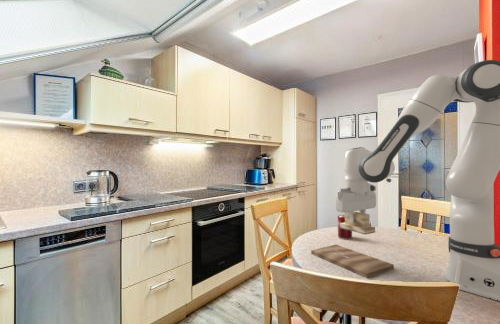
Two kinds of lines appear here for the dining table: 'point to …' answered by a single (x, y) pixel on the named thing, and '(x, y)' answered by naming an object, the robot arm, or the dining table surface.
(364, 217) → the sanding block
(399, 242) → the dining table surface
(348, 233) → the soda can
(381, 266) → the board
